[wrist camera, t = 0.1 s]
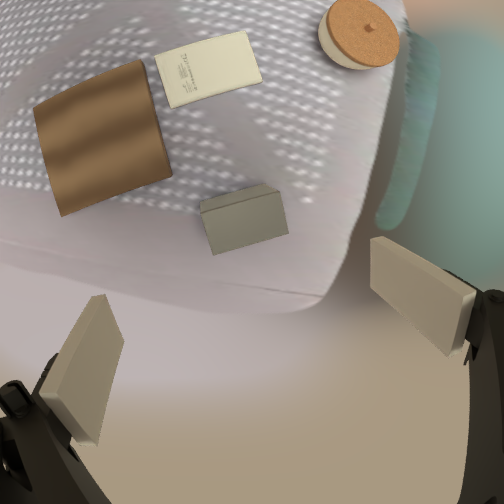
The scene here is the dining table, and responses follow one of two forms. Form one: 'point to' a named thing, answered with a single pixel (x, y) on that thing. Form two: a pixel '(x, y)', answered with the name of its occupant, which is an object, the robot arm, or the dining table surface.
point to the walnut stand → (101, 138)
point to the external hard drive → (207, 68)
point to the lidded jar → (358, 35)
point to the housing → (243, 218)
